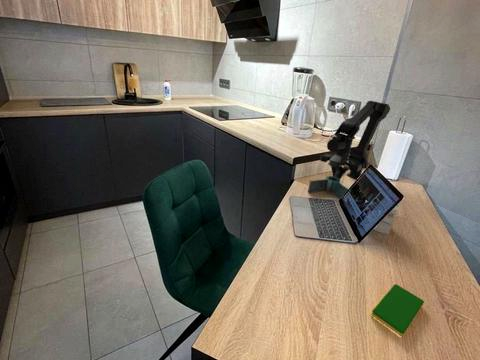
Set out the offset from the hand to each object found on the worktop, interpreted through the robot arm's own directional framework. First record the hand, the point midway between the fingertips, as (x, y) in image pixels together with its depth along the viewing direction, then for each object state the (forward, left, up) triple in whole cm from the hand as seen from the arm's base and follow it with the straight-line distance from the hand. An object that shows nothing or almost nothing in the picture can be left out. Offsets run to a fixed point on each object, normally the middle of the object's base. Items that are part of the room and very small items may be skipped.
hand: (336, 178), depth 131 cm
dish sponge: (+60, +44, -3) cm, 74 cm away
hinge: (+14, +4, -3) cm, 15 cm away
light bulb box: (+25, +27, -3) cm, 37 cm away
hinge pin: (0, 0, -2) cm, 2 cm away
